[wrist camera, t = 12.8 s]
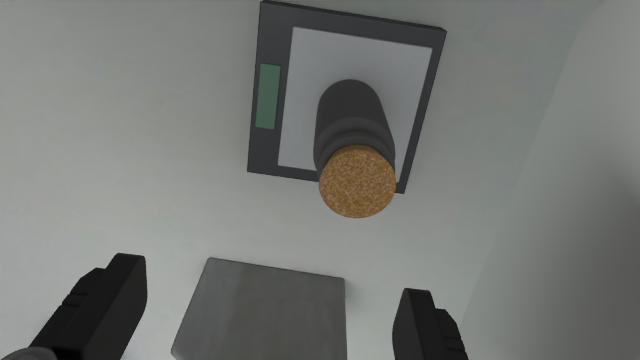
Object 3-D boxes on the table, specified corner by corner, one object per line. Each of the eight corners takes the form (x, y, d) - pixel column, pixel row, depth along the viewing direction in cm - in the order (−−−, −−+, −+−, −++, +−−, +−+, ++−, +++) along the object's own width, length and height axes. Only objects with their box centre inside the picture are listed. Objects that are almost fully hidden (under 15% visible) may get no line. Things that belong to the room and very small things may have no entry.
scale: (263, -1, 39) (259, 2, 36) (441, 27, 40) (449, 32, 37) (250, 163, 46) (245, 174, 44) (401, 184, 47) (405, 197, 44)
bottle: (392, 120, 41) (422, 200, 27) (337, 150, 42) (340, 240, 29) (361, 65, 39) (377, 123, 25) (305, 99, 40) (291, 171, 27)
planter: (204, 307, 55) (145, 467, 38) (208, 256, 52) (145, 407, 34) (332, 327, 56) (332, 491, 39) (344, 278, 52) (351, 435, 35)
